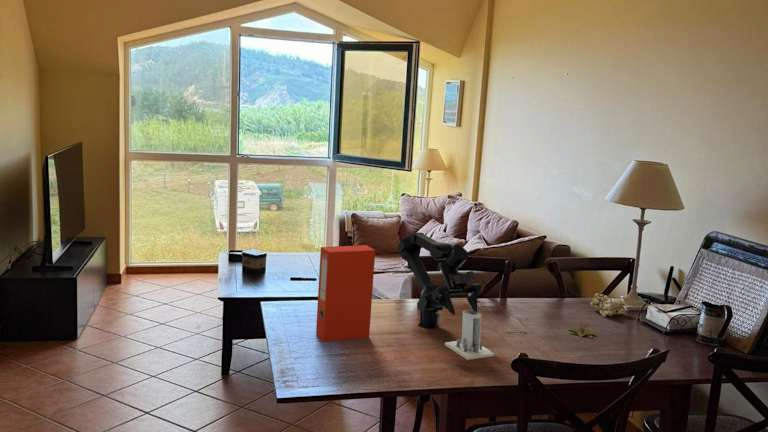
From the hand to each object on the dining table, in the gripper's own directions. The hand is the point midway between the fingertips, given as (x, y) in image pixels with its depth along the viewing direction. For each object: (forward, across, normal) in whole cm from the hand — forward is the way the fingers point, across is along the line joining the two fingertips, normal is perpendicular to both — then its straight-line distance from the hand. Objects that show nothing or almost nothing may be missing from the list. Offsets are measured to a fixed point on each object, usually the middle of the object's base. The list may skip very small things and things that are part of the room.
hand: (465, 313), depth 233 cm
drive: (+11, 0, +4) cm, 12 cm away
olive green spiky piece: (+11, +54, +7) cm, 56 cm away
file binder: (-7, -36, +24) cm, 44 cm away
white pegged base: (+11, 0, +6) cm, 13 cm away
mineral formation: (-2, +84, +19) cm, 86 cm away
